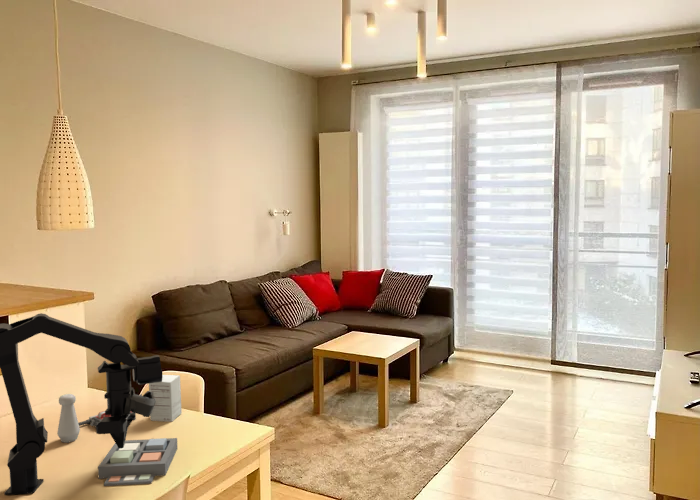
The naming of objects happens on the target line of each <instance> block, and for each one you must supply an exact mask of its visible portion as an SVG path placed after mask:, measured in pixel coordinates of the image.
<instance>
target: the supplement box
mask: <svg viewBox="0 0 700 500" xmlns="http://www.w3.org/2000/svg"><path fill="white" fill-rule="evenodd" d="M181 387H182V386H181V375H179V374H162V382H157V383H149V384H148V391H150V392H153V396H154V398H155V400H156V403H155V405H154V408H153V411H152V413H151V414H150V416H149V418H150V421H151V422H153V421H154V422H166V423H167V422H173V421H174V420H176V419H177V418H178V417H179V416H181V415H182V391H181V390H182V389H181Z"/></svg>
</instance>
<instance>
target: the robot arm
mask: <svg viewBox="0 0 700 500" xmlns="http://www.w3.org/2000/svg"><path fill="white" fill-rule="evenodd" d="M39 334H43V335H46V336H49V337H53V338H57V339H59V340H62V341H65V342H68V343H71V344H74V345H77V346H80V347H83V348H87V349H89V350H90V351H93V352H94V353H95V354H97V355H98V356H100V357H102V358H103V359H105V360H103V361H102V362H101V364H100V365H99V366H98V367H97V372H98V373H99V374H104V373H105V378H106V383H105V384H106V392H105V393H104V400H106V404H107V406H106V407H107V408H106V409H105V410H104V411H105V415H111V417H104V418H103V419H102V420H101V421H100V422H99V423H98V424H97V425H96V428H95V430H96V431H95V433H96V435H106V434H107V435H108V434H109V435H110V436H111V438H112V439H113V441H114V444H115V443H116V444H117V446H118V448H123V447H124V444H125V440H126V439H127V436H128V435H127V434H128V429H129V426H130V425H131V424H132V423H133V421H135V420H134V418H135V417H136V416H137V415H141V416H142V417H144V418H150V414H151V413H152V411H153V408H154V405H155V403H156V400H155V398H154V396H153V392H150V391H149V390H147V391H146V392H145V393H144V394H142V393H141V394H136V393H135V392H136V390H135V389H134V387H132V380H131V379H133V382H136V384H138V385H139V386H141V385H149V383H157V382H162V375H163V369H162V364H161V357H160V355H157V354H156V355H152V356H146V357H137V355H136V354H135V353H133V351H132V350H131V347H130V344H129V341H128V340H127V339H126V338H125V337H123V336H122V335H117V334H111V333H100V332H94V331H91V330H90V329H89V330H88V329H86V328H83V327H81V326H77V325H74V324H71V323H69V322H66V321H63V320H60V319H57V318H54V317H51V316H49V315H48V314H46V313H41V312H40V313H38V314H35V315H34V316H33V315H32V316H31V317H28V318H27V317H26V318H23V319H20V320H17V321H15V322H12V323H0V372H1V375H2V376H1V377H2V379H3V382H4V387H5V391H6V393H7V397H8V400H9V404H10V407H11V412H12V415H13V417H14V422H15V439H16V444H15V445H14V446H13V447H11V449H10V450H9V455H8V458H7V464H6V465H7V468H8V469H9V482H10V483H9V484H10V486H9V487H8V488H7V489H5V491H4V496H5V495H7V496H9V495H25V494H27V495H29V494H33V493H35V492H36V490H38V488H39V487H40V486H41V485H42V484H43V483H44V481H45V480H44V478H38V463H37V461H38V460H37V459H38V458H40V457H41V456H42V454H43V453H44V452H45V450H46V449H45V448H46V443H48V438H49V437H48V436H49V435H48V431H47V430H46V428H45V420H44V419H45V417H42V418H40V419H37V417H36V416H35V414H34V412H33V408H32V404H31V402H30V397H29V394H28V390H27V387H26V384H25V379H24V375H23V372H22V369H21V365H20V362H19V344H20V343H22V342H24V341H26V340H28V339H31V338H32V337H34V336H37V335H39ZM106 360H107V361H109V362H110V363H109V362H106ZM131 370H132V375H131ZM131 412H133V413H136V414H137V415H136V416H135V415H131V416H130V414H131ZM136 418H137V417H136Z"/></svg>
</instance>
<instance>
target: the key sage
mask: <svg viewBox="0 0 700 500" xmlns="http://www.w3.org/2000/svg"><path fill="white" fill-rule="evenodd" d="M132 459H133V450H128V451H115V452H114V454H113V455H112V457H111V458H110V464H115V463H131V461H132Z"/></svg>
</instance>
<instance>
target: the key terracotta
mask: <svg viewBox="0 0 700 500" xmlns="http://www.w3.org/2000/svg"><path fill="white" fill-rule="evenodd" d="M155 461H161V452H157V453H143V455H142V457H141V459H140V460H139V462H155Z"/></svg>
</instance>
